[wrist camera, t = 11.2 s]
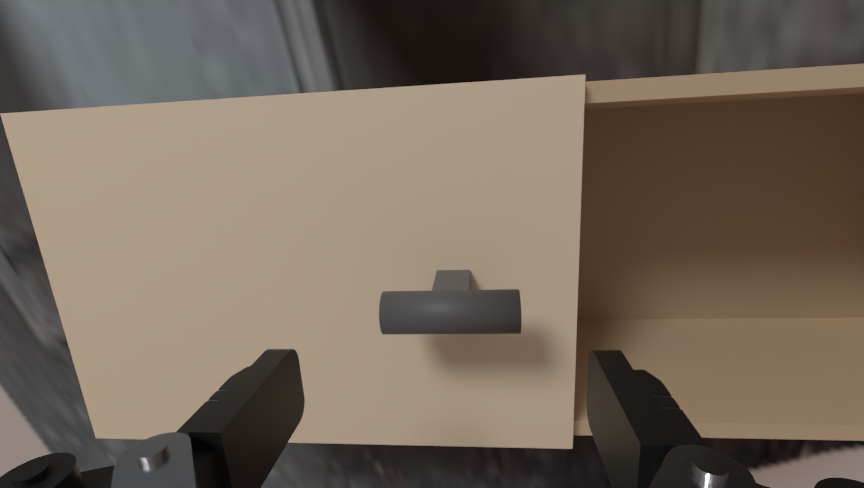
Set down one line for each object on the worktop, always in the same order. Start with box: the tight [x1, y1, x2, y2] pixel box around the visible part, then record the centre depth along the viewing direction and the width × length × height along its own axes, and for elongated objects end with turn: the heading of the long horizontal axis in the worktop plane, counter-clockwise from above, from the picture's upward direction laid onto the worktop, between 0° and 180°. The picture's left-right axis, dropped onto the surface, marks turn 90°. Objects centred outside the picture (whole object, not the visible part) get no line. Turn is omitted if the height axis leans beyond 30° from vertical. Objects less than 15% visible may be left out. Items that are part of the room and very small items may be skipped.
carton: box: [573, 64, 864, 441], centre depth 23 cm, size 24×16×12 cm, turn 93°
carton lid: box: [0, 75, 585, 449], centre depth 18 cm, size 24×16×4 cm
